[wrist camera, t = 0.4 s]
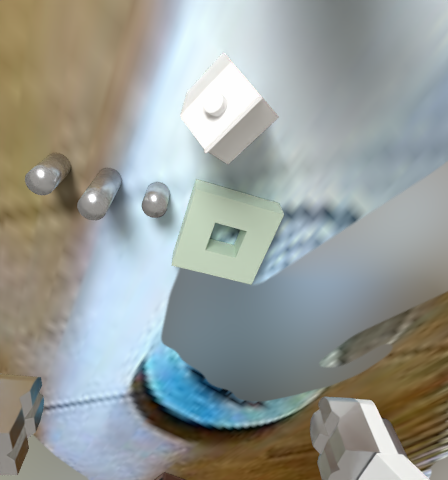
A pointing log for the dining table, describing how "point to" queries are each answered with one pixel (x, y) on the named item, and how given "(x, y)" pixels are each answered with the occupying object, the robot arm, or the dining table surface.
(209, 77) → the milk carton
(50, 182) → the medium pin
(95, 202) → the tall pin
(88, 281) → the dining table surface
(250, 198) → the socket block
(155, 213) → the short pin
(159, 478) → the letter holder
